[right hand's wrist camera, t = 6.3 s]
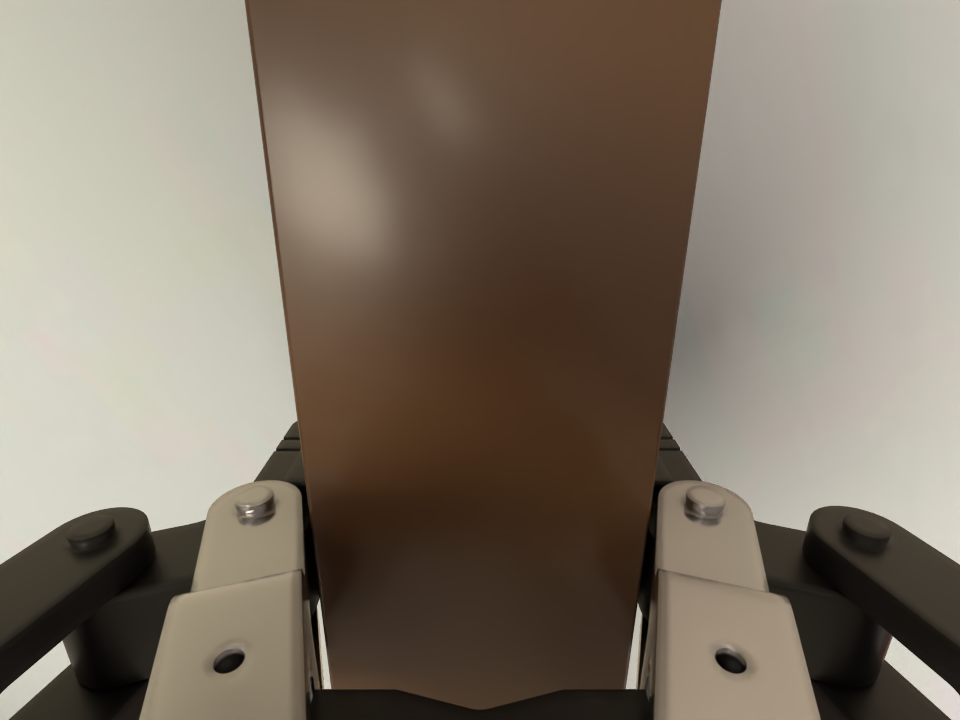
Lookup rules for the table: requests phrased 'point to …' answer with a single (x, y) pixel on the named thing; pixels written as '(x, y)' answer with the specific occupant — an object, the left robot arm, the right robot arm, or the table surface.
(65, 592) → the right robot arm
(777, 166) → the table surface
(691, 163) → the bar
